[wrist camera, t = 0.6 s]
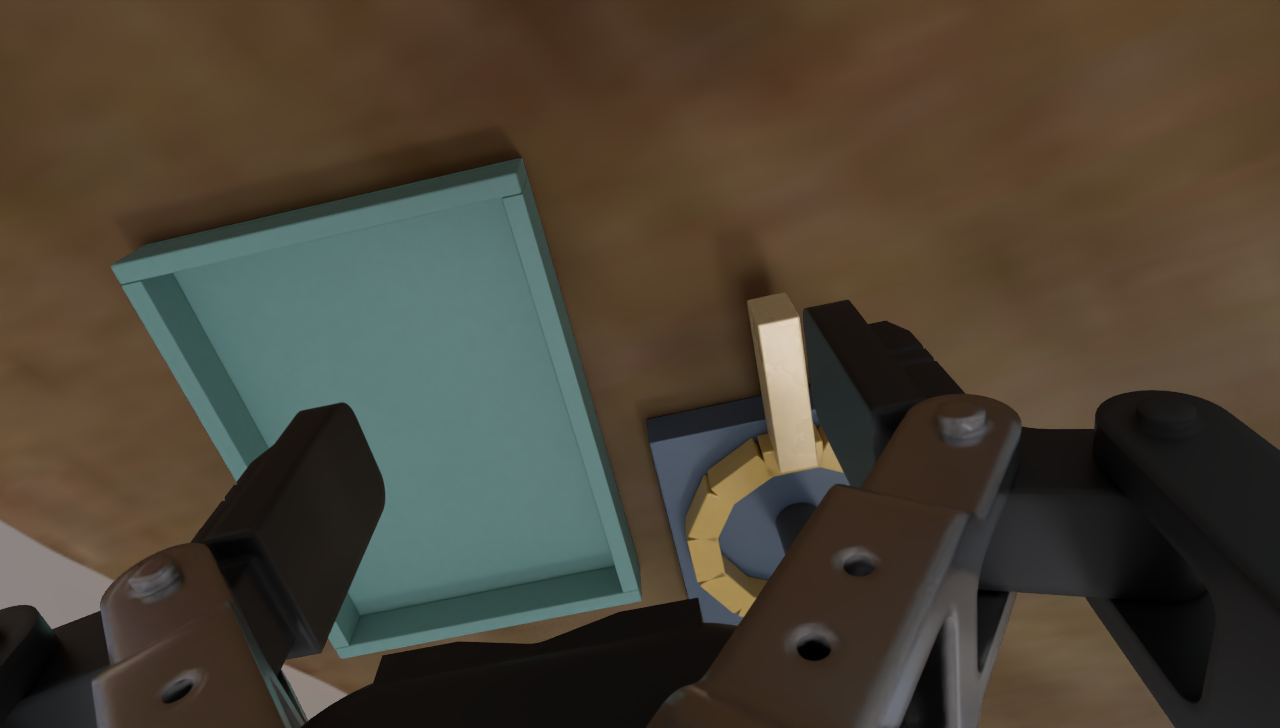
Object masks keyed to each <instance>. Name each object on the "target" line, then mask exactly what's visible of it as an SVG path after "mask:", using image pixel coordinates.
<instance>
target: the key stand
mask: <svg viewBox="0 0 1280 728" xmlns="http://www.w3.org/2000/svg"><path fill="white" fill-rule="evenodd" d="M808 388H809V396H810V404H811V412H812V420H813V424H815V426H816V428H817V429H818V427H819V425H820V423H819V420H818V417H817V414H816V410H815V406H814V402H813V397H812V390H811V386H808ZM647 427H648V437H649V445H650V449H651V453H652V457H653V461H654V465H655V469H656V472H657V476H658V480H659V484H660V488H661V492H662V496H663V500H664V504H665V508H666V512H667V516H668V520H669V524H670V528H671V532H672V536H673V540H674V544H675V548H676V551H677V555H678V559H679V563H680V567H681V571H682V575H683V579H684V583H685V587H686V591H687V595H688V599H693V598H698V599H699V603H700V607H701V612H702V616H703V620H704V622H712V623H722V624H729V625H733V624H738V623H740V622H741V620H742V619H743V617H740V616H738V613H737V612H736V613H732V612H731V611H730V610H728V609H727V608H726V607H725V606H724V605H722V604H721V603H720V602H719V601H718V600H716V599H715V598H714V597H713V596H712V595H710V594H709V593H708V592H707V591H705V590H704V589H703V588H702V587H701V586H700V583H699V582H697V580H696V576H695V572H694V568H693V563H692V559H691V555H690V551H689V547H688V543H687V537H686V530H685V522H686V519H685V517H686V515H687V512H688V510H689V508H690V505H691V503H692V501H693V499H694V496H695V494H696V492H697V489H698V487H699V485H700V483H701V480H702V478H703V476H704V475H707V476H708V473H707V470H708V469H710V468H711V467H712V466H714V465H715V464H717V463H718V462H719V461H721V460H722V459H723V458H725V457H726V456H727V455H729V454H730V453H731V452H733V451H734V450H735V449H737V448H738V447H739V446H741V445H742V444H743V443H745V442H746V441H748V440H749V439H750V438H753V439H754V440H755V441H756V442H757V443H758V440H757V436H758V435H762V434H767V433H768V431H767V425H766V418H765V412H764V406H763V400H762V396H758V397H753V398H749V399H744V400H739V401H734V402H729V403H725V404H720V405H715V406H710V407H705V408H700V409H696V410H691V411H686V412H681V413H676V414H672V415H667V416H662V417H657V418H652V419H648V420H647ZM835 484H844V485H849V486H850V484H849V482H848V480H847V478H846V476H845V474H844V473H841V472H837V471H833V470H829V469H825V468H821V467H819V468H814V469H809V470H804V471H799V472H794V473H789V474H784V475H779V476H774V477H772V478H771V479H769V480H768V481H766V482H765V483H764V484H762V485H761V486H759V487H758V488H757V489H755V490H754V491H752V492H751V493H750V494H748V495H747V496H745V497H744V498H743V499H741V500H740V501H738V502H737V503H736V504H734V506H733V508H732V510H731V512H730V515H729V517H728V519H727V521H726V523H725V525H724V527H723V529H722V532H721V534H720V536H719V538H718V539H719V544H720V548H721V553H722V555H724V556H725V557H726V558H727V559H728V560H729V561H731V562H732V563H733V564H734V565H735V566H736V567H737V568H739V569H740V570H741V571H742V572H743V573H744V574H746V575H747V576H749V577H753V578H758V579H762V580H767V581H768V580H769V578H770V577H771V575H772V574H773V572H774V571H775V569H776V568H777V566H778V565H779V563H780V562H781V560H782V559H783V557H784V556H785V554H786V553H787V551H788V550H789V548H790V547H791V545H792V544H793V542H794V541H795V539H796V538H797V536H798V535H799V533H800V532H801V530H802V529H803V527H804V526H805V524H806V523H807V521H808V520H809V518H810V517H811V515H812V514H813V512H814V511H815V509H816V508H817V506H818V505H819V503H820V502H821V500H822V499H823V497H824V496H825V494H826V493H827V492H828V490H829V489H830V488H831V487H832V486H833V485H835Z"/></svg>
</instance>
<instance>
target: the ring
mask: <svg viewBox="0 0 1280 728" xmlns="http://www.w3.org/2000/svg"><path fill="white" fill-rule="evenodd" d="M747 306H748V313H749V319H750V325H751V331H752V337H753V344H754V350H755V356H756V362H757V369H758V375H759V381H760V387H761V394H762V400H763V406H764V412H765V418H766V425H767V431H768V433H767V434H762V435H758V436H757V440H758V443H757V442H756V441H755V440H754V439H753V438H750V439H749V440H748V441H746V442H745V443H743V444H742V445H741V446H739V447H738V448H737V449H735V450H734V451H733V452H731V453H730V454H729V455H727V456H726V457H725V458H723V459H722V460H721V461H719V462H718V463H717V464H715V465H714V466H712V467H711V468H710V469H708V470H707V473H708V476H707V475H704V476H703V478H702V480H701V483H700V485H699V487H698V489H697V492H696V494H695V496H694V499H693V501H692V503H691V505H690V508H689V510H688V512H687V515H686V517H685V519H686V522H685V530H686V537H687V543H688V547H689V551H690V555H691V559H692V563H693V568H694V572H695V576H696V580H697V582H699V583H700V586H701V587H702V588H703V589H704V590H705V591H707V592H708V593H709V594H710V595H712V596H713V597H714V598H715V599H716V600H718V601H719V602H720V603H721V604H722V605H724V606H725V607H726V608H727V609H728V610H730V611H731V612H732V613H736V612H737V613H738V616H740V617H744V616H745V614H746V613H747V611H748V610H749V608H750V607H751V605H752V604H753V602H754V601H755V599H756V598H757V596H758V595H759V593H760V592H761V590H762V589H763V587H764V586H765V584H766V583H767V580H762V579H758V578H753V577H749V576H747V575H746V574H744V573H743V572H742V571H741V570H740V569H739V568H737V567H736V566H735V565H734V564H733V563H732V562H731V561H729V560H728V559H727V558H726V557H725V556H724V555H722V553H721V548H720V544H719V539H718V538H719V536H720V534H721V532H722V529H723V527H724V525H725V523H726V521H727V519H728V517H729V515H730V512H731V510H732V508H733V506H734V504H736V503H737V502H738V501H740V500H741V499H743V498H744V497H745V496H747V495H748V494H750V493H751V492H752V491H754V490H755V489H757V488H758V487H759V486H761V485H762V484H764V483H765V482H766V481H768V480H769V479H771V478H772V477H774V476H779V475H784V474H789V473H794V472H799V471H804V470H809V469H814V468H819V467H821V468H825V469H829V470H833V471H837V472H841V473H844V472H843V470H842V468H841V466H840V464H839V462H838V460H837V458H836V456H835V454H834V452H833V450H832V448H831V446H830V444H829V442H828V440H827V438H826V435H825V433H824V431H823V429H822V427H821V425H819V427H818V429H817V428H816V426H815V424H813V420H812V412H811V404H810V396H809V388H808V380H807V372H806V364H805V356H804V348H803V340H802V332H801V324H800V317H799V315H798V313H797V311H796V310H795V308H794V306H793V304H792V303H791V301H790V299H789V297H788V296H787V294H786V292H783V293H779V294H774V295H770V296H765V297H760V298H756V299H751V300H747Z"/></svg>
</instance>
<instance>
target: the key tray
mask: <svg viewBox="0 0 1280 728" xmlns="http://www.w3.org/2000/svg"><path fill="white" fill-rule="evenodd" d="M111 269H112V270H113V272H114V274H115V275H116V277H117V279H118V280H119V282H120V283H121V284H123V285H122V288H123V290H124V292H125V293H126V295H127V297H128V298H129V300H130V302H131V303H132V305H133V307H134V309H135V310H136V312H137V314H138V315H139V317H140V319H141V320H142V322H143V324H144V326H145V327H146V329H147V331H148V332H149V334H150V336H151V337H152V339H153V341H154V343H155V344H156V346H157V348H158V349H159V351H160V353H161V354H162V356H163V358H164V360H165V361H166V363H167V365H168V366H169V368H170V370H171V371H172V373H173V375H174V377H175V378H176V380H177V382H178V383H179V385H180V387H181V388H182V390H183V392H184V394H185V395H186V397H187V399H188V400H189V402H190V404H191V405H192V407H193V409H194V411H195V412H196V414H197V416H198V417H199V419H200V421H201V422H202V424H203V426H204V428H205V429H206V431H207V433H208V434H209V436H210V438H211V439H212V441H213V443H214V445H215V446H216V448H217V450H218V451H219V453H220V455H221V456H222V458H223V460H224V462H225V463H226V465H227V467H228V468H229V470H230V472H231V473H232V475H233V477H234V479H235V480H236V482H237V480H238V479H239V478H240V477H241V475H242V474H243V473H244V471H245V470H246V469H247V467H248V466H249V465H250V463H251V462H252V461H254V460H255V459H256V458H257V457H259V456H260V455H261V454H262V453H264V452H265V451H266V450H267V449H269V448H270V447H271V446H273V445H274V444H275V442H276V441H277V440H278V438H279V437H280V436H281V434H282V433H283V432H284V430H285V429H286V428H287V426H288V425H289V424H290V422H291V421H292V420H293V418H294V417H295V415H296V414H297V413H298V412H299V411H301V410H306V409H311V408H316V407H321V406H326V405H331V404H335V403H340V402H344V403H346V404H348V405H349V406H350V407H351V408H352V410H353V411H354V413H355V415H356V417H357V420H358V422H359V424H360V426H361V429H362V431H363V433H364V436H365V438H366V440H367V442H368V445H369V447H370V449H371V451H372V454H373V456H374V458H375V461H376V463H377V465H378V467H379V470H380V472H381V474H382V477H383V481H384V485H385V506H384V510H383V512H382V515H381V517H380V519H379V521H378V524H377V526H376V528H375V531H374V533H373V535H372V538H371V540H370V542H369V544H368V547H367V549H366V551H365V554H364V556H363V558H362V561H361V563H360V565H359V568H358V570H357V572H356V574H355V577H354V579H353V581H352V584H351V586H350V588H349V591H348V593H347V595H346V597H345V600H344V602H343V604H342V607H341V609H340V611H339V614H338V616H337V618H336V620H335V623H334V625H333V627H332V630H331V632H330V634H329V637H328V638H329V640H330V642H331V643H332V645H333V647H334V648H335V650H336V652H337V653H338V655H339V657H340V658H341V659H343V658H349V657H354V656H359V655H364V654H369V653H374V652H380V651H385V650H390V649H395V648H400V647H406V646H411V645H416V644H421V643H426V642H431V641H437V640H442V639H447V638H452V637H457V636H463V635H468V634H473V633H478V632H483V631H488V630H494V629H499V628H504V627H509V626H514V625H520V624H525V623H530V622H535V621H540V620H545V619H551V618H556V617H561V616H566V615H571V614H577V613H582V612H587V611H592V610H597V609H602V608H608V607H613V606H618V605H623V604H628V603H634V602H639V601H642V592H641V576H640V565H639V562H638V558H637V555H636V551H635V548H634V544H633V541H632V537H631V534H630V530H629V527H628V524H627V520H626V517H625V513H624V510H623V506H622V503H621V499H620V496H619V492H618V489H617V485H616V482H615V478H614V475H613V471H612V468H611V464H610V461H609V457H608V454H607V450H606V447H605V444H604V440H603V437H602V433H601V430H600V426H599V423H598V419H597V416H596V412H595V409H594V405H593V402H592V398H591V395H590V391H589V388H588V384H587V381H586V377H585V374H584V371H583V367H582V364H581V360H580V357H579V353H578V350H577V346H576V343H575V339H574V336H573V332H572V329H571V325H570V322H569V318H568V315H567V311H566V308H565V304H564V301H563V297H562V294H561V291H560V287H559V284H558V280H557V277H556V273H555V270H554V266H553V263H552V259H551V256H550V252H549V249H548V245H547V242H546V238H545V235H544V231H543V228H542V224H541V221H540V218H539V214H538V211H537V207H536V204H535V200H534V197H533V193H532V190H531V186H530V183H529V179H528V176H527V172H526V169H525V165H524V162H523V159H522V158H518V159H513V160H509V161H505V162H500V163H496V164H492V165H487V166H483V167H479V168H474V169H470V170H466V171H461V172H457V173H453V174H448V175H444V176H440V177H435V178H431V179H427V180H422V181H418V182H414V183H409V184H405V185H401V186H396V187H392V188H388V189H383V190H379V191H375V192H370V193H366V194H362V195H357V196H353V197H349V198H345V199H340V200H336V201H332V202H327V203H323V204H319V205H314V206H310V207H306V208H301V209H297V210H293V211H288V212H284V213H280V214H275V215H271V216H267V217H262V218H258V219H254V220H249V221H245V222H241V223H236V224H232V225H228V226H223V227H219V228H215V229H210V230H206V231H202V232H197V233H193V234H189V235H184V236H180V237H176V238H171V239H167V240H163V241H159V242H154V243H150V244H146V245H143V246H141V247H140V248H139V249H137V250H135V251H134V252H132V253H131V254H129V255H127V256H126V257H124V258H122V259H121V260H119V261H117V262H116V263H114V264H113V265H111Z"/></svg>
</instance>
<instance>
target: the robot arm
mask: <svg viewBox="0 0 1280 728" xmlns="http://www.w3.org/2000/svg"><path fill="white" fill-rule="evenodd" d="M803 323H804V332H805V340H806V349H807V357H808V366H809V374H810V382H811V390H812V397H813V402H814V406H815V410H816V414H817V417H818V420H819V423H820V425H821V427H822V429H823V431H824V433H825V435H826V438H827V440H828V442H829V444H830V446H831V448H832V450H833V452H834V454H835V456H836V458H837V460H838V462H839V464H840V466H841V468H842V470H843V472H844V474H845V476H846V478H847V480H848V482H849V484H850V486H849V485H844V484H835V485H833V486H832V487H831V488H830V489H829V490H828V492H827V493H826V494H825V496H824V497H823V499H822V500H821V502H820V503H819V505H818V506H817V508H816V509H815V511H814V512H813V514H812V515H811V517H810V518H809V520H808V521H807V523H806V524H805V526H804V527H803V529H802V530H801V532H800V533H799V535H798V536H797V538H796V539H795V541H794V542H793V544H792V545H791V547H790V548H789V550H788V551H787V553H786V554H785V556H784V557H783V559H782V560H781V562H780V563H779V565H778V566H777V568H776V569H775V571H774V572H773V574H772V575H771V577H770V578H769V580H768V581H767V583H766V584H765V586H764V587H763V589H762V590H761V592H760V593H759V595H758V596H757V598H756V599H755V601H754V602H753V604H752V605H751V607H750V608H749V610H748V611H747V613H746V614H745V616H744V617H743V619H742V620H741V622H740V623H739V625H738V626H736V625H729V624H722V623H712V622H704V620H703V616H702V612H701V607H700V603H699V599H698V598H693V599H688V600H682V601H677V602H671V603H666V604H660V605H655V606H649V607H644V608H639V609H633V610H628V611H622V612H618V613H616V614H613V615H610V616H608V617H605V618H603V619H600V620H598V621H595V622H592V623H590V624H587V625H585V626H582V627H579V628H577V629H574V630H572V631H569V632H567V633H564V634H561V635H559V636H556V637H554V638H551V639H549V640H546V641H543V642H540V643H535V644H516V643H486V642H454V643H448V644H443V645H437V646H432V647H427V648H421V649H416V650H410V651H405V652H399V653H394V654H388V655H383V656H382V659H381V662H380V665H379V667H378V670H377V673H376V676H375V679H374V682H373V684H370V685H368V686H365V687H363V688H361V689H359V690H357V691H355V692H353V693H351V694H349V695H347V696H346V697H344V698H342V699H340V700H339V701H337V702H335V703H334V704H332V705H330V706H329V707H327V708H326V709H324V710H323V711H321V712H320V713H318V714H317V715H316V716H314V717H313V718H311V719H310V720H309V721H308V719H307V717H306V715H305V713H304V711H303V710H302V707H301V705H300V704H299V701H298V699H297V697H296V695H295V693H294V691H293V689H292V687H291V685H290V683H289V681H288V680H287V678H286V676H285V675H284V673H283V671H282V670H281V668H282V666H283V664H284V662H285V660H287V659H292V658H297V657H303V656H308V655H314V654H319V653H322V650H323V648H324V646H325V644H326V641H327V639H328V637H329V634H330V632H331V630H332V627H333V625H334V623H335V620H336V618H337V616H338V614H339V611H340V609H341V607H342V604H343V602H344V600H345V597H346V595H347V593H348V591H349V588H350V586H351V584H352V581H353V579H354V577H355V574H356V572H357V570H358V568H359V565H360V563H361V561H362V558H363V556H364V554H365V551H366V549H367V547H368V544H369V542H370V540H371V538H372V535H373V533H374V531H375V528H376V526H377V524H378V521H379V519H380V517H381V515H382V512H383V510H384V506H385V485H384V481H383V477H382V474H381V472H380V470H379V467H378V465H377V463H376V461H375V458H374V456H373V454H372V451H371V449H370V447H369V445H368V442H367V440H366V438H365V436H364V433H363V431H362V429H361V426H360V424H359V422H358V420H357V417H356V415H355V413H354V411H353V410H352V408H351V407H350V406H349V405H348V404H346V403H344V402H340V403H335V404H331V405H326V406H321V407H316V408H311V409H306V410H301V411H299V412H298V413H297V414H296V415H295V417H294V418H293V420H292V421H291V422H290V424H289V425H288V426H287V428H286V429H285V430H284V432H283V433H282V434H281V436H280V437H279V438H278V440H277V441H276V442H275V444H274V445H273V446H271V447H270V448H269V449H267V450H266V451H265V452H264V453H262V454H261V455H260V456H259V457H257V458H256V459H255V460H254V461H252V462H251V463H250V465H249V466H248V467H247V469H246V470H245V471H244V473H243V474H242V475H241V477H240V478H239V479H238V480H237V485H234V486H233V487H232V488H231V490H230V491H229V492H228V494H227V495H226V496H225V501H222V502H221V503H220V504H219V505H218V507H217V508H216V509H215V511H214V512H213V513H212V515H211V516H210V517H209V519H208V520H207V521H206V523H205V524H204V525H203V527H202V528H201V529H200V530H199V532H198V533H197V534H196V536H195V537H194V538H193V540H192V541H191V542H190V543H186V544H181V545H176V546H173V547H170V548H167V549H165V550H162V551H159V552H157V553H155V554H153V555H151V556H149V557H147V558H145V559H144V560H142V561H140V562H139V563H137V564H135V565H134V566H132V567H131V568H130V569H128V570H127V571H125V572H124V573H123V574H122V575H121V576H119V577H118V578H117V579H116V580H115V581H114V582H113V583H112V584H111V585H110V586H109V588H108V589H107V590H106V591H105V593H104V595H103V597H102V599H101V602H100V609H101V611H99V612H96V613H93V614H91V615H88V616H86V617H83V618H80V619H78V620H75V621H73V622H70V623H68V624H65V625H62V626H60V627H57V628H55V629H51V628H50V626H49V625H48V624H47V622H46V621H45V620H44V618H43V617H42V616H41V615H40V613H39V612H38V611H37V609H36V608H35V607H32V606H29V605H18V606H12V607H8V608H5V609H2V610H0V728H978V726H979V718H980V712H981V707H982V703H983V699H984V695H985V692H986V689H987V686H988V683H989V680H990V676H991V673H992V670H993V667H994V664H995V661H996V658H997V655H998V652H999V649H1000V646H1001V642H1002V639H1003V636H1004V633H1005V630H1006V627H1007V624H1008V621H1009V618H1010V615H1011V611H1012V608H1013V605H1014V602H1015V599H1016V595H1017V592H1022V593H1037V594H1052V595H1067V596H1081V597H1086V599H1087V601H1088V602H1089V604H1090V605H1091V607H1092V608H1093V610H1094V611H1095V613H1096V614H1097V615H1098V617H1099V618H1100V620H1101V621H1102V623H1103V624H1104V626H1105V627H1106V628H1107V630H1108V631H1109V633H1110V634H1111V636H1112V637H1113V639H1114V640H1115V641H1116V643H1117V644H1118V646H1119V647H1120V649H1121V650H1122V652H1123V653H1124V654H1125V656H1126V657H1127V659H1128V660H1129V662H1130V663H1131V664H1132V666H1133V667H1134V669H1135V670H1136V672H1137V673H1138V675H1139V676H1140V677H1141V679H1142V680H1143V682H1144V683H1145V685H1146V686H1147V688H1148V689H1149V690H1150V692H1151V693H1152V695H1153V696H1154V698H1155V699H1156V701H1157V702H1158V703H1159V705H1160V706H1161V708H1162V709H1163V711H1164V712H1165V714H1166V715H1167V716H1168V718H1169V719H1170V721H1171V722H1172V724H1173V725H1174V727H1175V728H1280V450H1278V449H1277V448H1276V447H1274V446H1273V445H1272V444H1270V443H1269V442H1268V441H1266V440H1265V439H1264V438H1262V437H1261V436H1260V435H1258V434H1257V433H1256V432H1254V431H1253V430H1252V429H1250V428H1249V427H1248V426H1246V425H1245V424H1244V423H1243V422H1241V421H1240V420H1239V419H1237V418H1236V417H1235V416H1233V415H1232V414H1231V413H1229V412H1228V411H1227V410H1225V409H1223V408H1222V407H1220V406H1219V405H1216V404H1214V403H1212V402H1210V401H1208V400H1205V399H1202V398H1199V397H1196V396H1192V395H1188V394H1183V393H1178V392H1170V391H1157V390H1148V391H1135V392H1128V393H1123V394H1120V395H1117V396H1114V397H1112V398H1109V399H1107V400H1106V401H1104V402H1103V403H1102V404H1101V405H1100V406H1099V407H1098V409H1097V411H1096V414H1095V427H1094V429H1036V428H1027V427H1021V426H1022V425H1021V420H1020V418H1019V416H1018V414H1017V413H1016V412H1015V411H1014V410H1013V409H1012V408H1010V407H1009V406H1008V405H1006V404H1004V403H1002V402H1000V401H997V400H995V399H992V398H988V397H984V396H979V395H971V394H965V393H964V392H963V390H962V389H961V388H960V387H959V386H958V385H957V384H956V383H955V381H954V380H953V379H952V378H951V377H950V376H949V375H948V374H947V372H946V371H945V370H944V369H943V368H942V367H941V366H940V365H939V363H938V362H937V361H934V359H933V357H932V356H931V354H930V353H929V352H928V351H927V350H926V349H923V346H922V344H921V343H920V342H919V341H918V340H917V339H916V338H915V337H914V335H913V334H912V333H911V332H910V331H908V330H906V329H904V328H901V327H899V326H897V325H894V324H892V323H890V322H887V321H882V322H877V323H872V324H867V322H866V321H865V320H864V318H863V317H862V316H861V315H860V313H859V312H858V311H857V310H856V308H855V307H854V306H853V304H852V303H851V302H850V301H849V300H844V301H839V302H834V303H829V304H824V305H819V306H814V307H809V308H805V309H804V311H803Z"/></svg>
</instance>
